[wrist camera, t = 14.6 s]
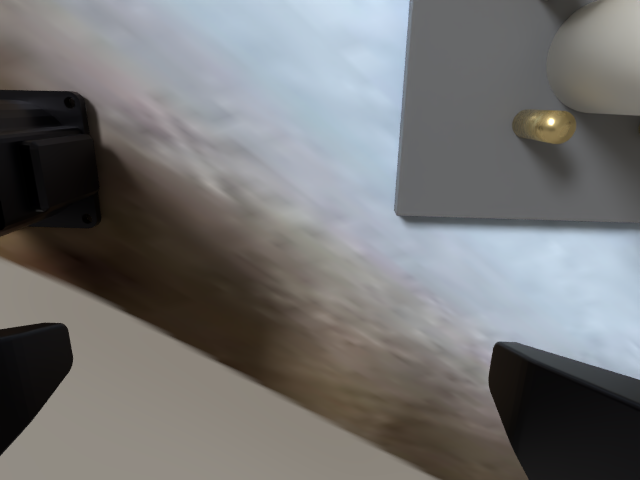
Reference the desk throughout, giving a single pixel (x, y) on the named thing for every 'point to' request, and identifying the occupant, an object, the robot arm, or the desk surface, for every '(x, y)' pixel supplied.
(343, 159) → the desk surface
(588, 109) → the cream post
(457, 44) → the charcoal plate
